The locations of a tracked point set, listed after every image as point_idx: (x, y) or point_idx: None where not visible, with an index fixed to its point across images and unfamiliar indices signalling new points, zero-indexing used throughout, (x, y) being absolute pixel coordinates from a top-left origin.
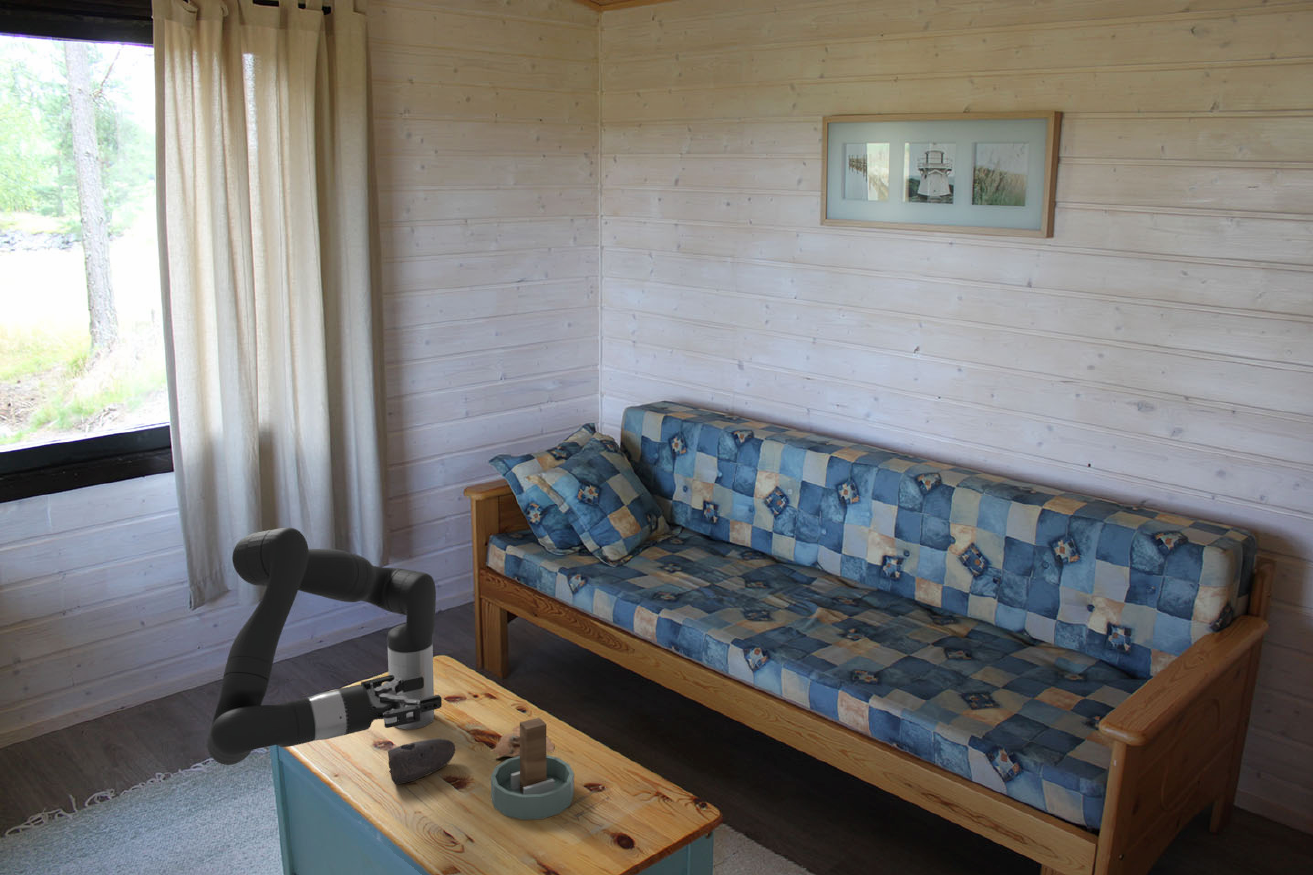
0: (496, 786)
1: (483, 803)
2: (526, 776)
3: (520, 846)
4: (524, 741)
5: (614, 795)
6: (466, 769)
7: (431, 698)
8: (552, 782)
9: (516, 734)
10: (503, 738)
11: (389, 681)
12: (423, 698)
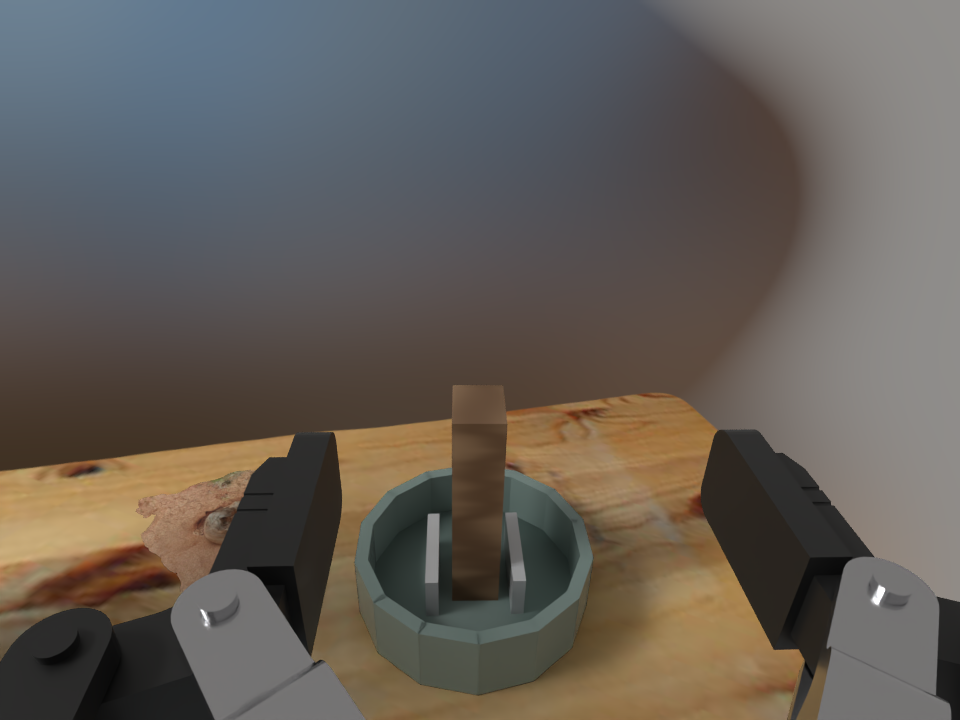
0: (485, 640)
1: (434, 716)
2: (500, 551)
3: (707, 704)
4: (490, 465)
5: (549, 462)
6: None
7: (789, 478)
8: (517, 519)
9: (175, 515)
10: (159, 545)
11: (104, 709)
12: (793, 523)
